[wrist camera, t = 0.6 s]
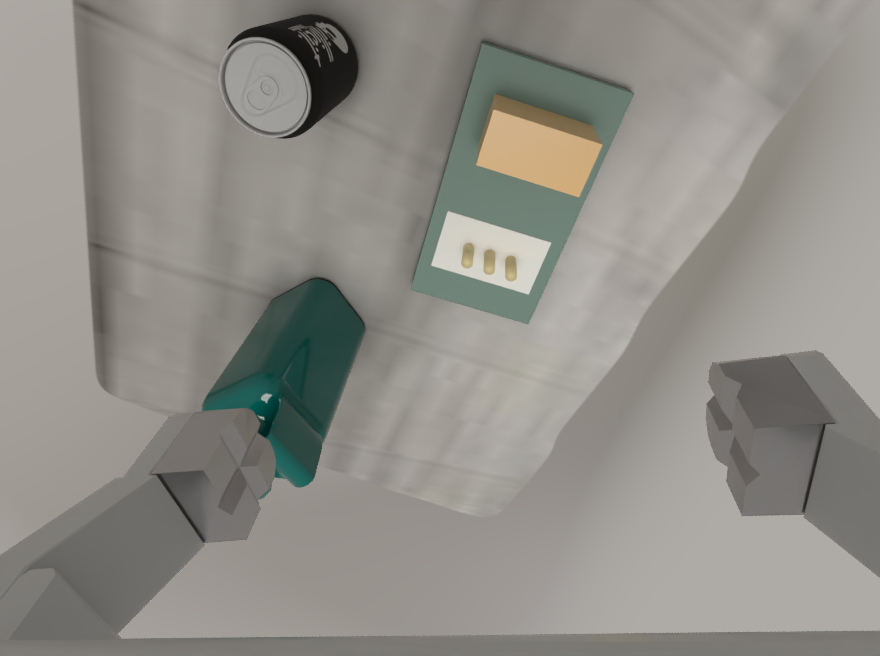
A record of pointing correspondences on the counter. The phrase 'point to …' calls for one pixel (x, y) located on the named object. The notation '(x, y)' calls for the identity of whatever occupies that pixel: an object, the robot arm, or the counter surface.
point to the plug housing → (538, 146)
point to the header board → (509, 191)
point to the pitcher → (294, 374)
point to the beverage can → (287, 75)
